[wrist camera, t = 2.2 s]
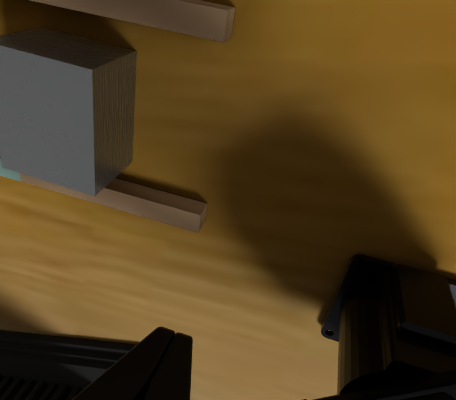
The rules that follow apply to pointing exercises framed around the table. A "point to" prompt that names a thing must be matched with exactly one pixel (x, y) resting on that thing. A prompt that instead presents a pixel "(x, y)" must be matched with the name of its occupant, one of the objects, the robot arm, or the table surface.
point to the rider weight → (66, 108)
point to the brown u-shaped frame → (172, 21)
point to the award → (52, 365)
